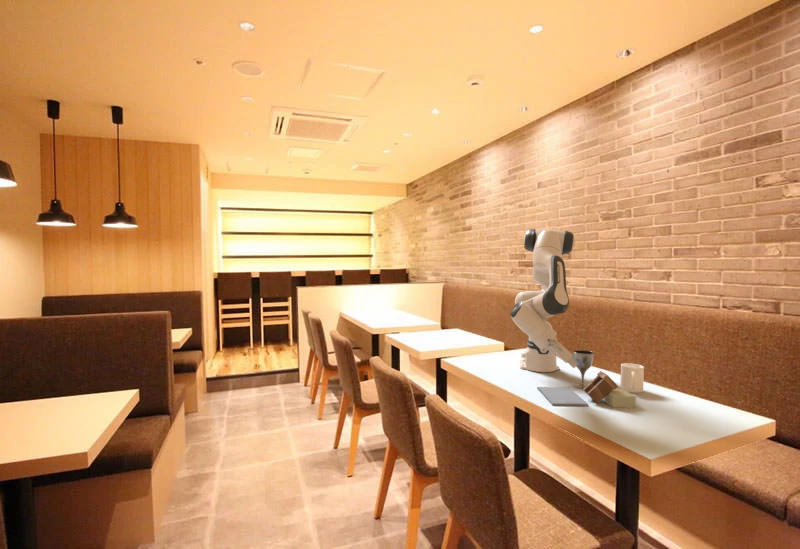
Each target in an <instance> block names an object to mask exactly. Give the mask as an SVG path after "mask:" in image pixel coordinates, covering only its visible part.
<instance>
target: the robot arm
mask: <svg viewBox="0 0 800 549" xmlns="http://www.w3.org/2000/svg"><path fill="white" fill-rule="evenodd" d="M522 243H523V247H524V249H525V250H526V251H529V252H531V253H532V265H533V266H532V273H531V277H532V280H533V282H535V283H537V284H538V285H540V286H541V290H525V291H521V292H518V293H517V294H516V296H515V298H514V306H513V307H512V308H511V310H510V314H509V315H510V318H511V320H512V321H513V323H514V324H515V325H516V326H517V327H518V328H519V329H520V330H521V331H522V333H523V334H526V335H527V336H528V340H527V342H526V343H527V344H526V345H527V346H526V349H525V351H524V352H523V353H521V358H522V359H520V360H519V365H520V369H522V370H528V371H532V372H536V373H537V372H538V373H553V372H555V371H559V370H560V369H561V368H560V366H559V365H557V357H558V359H560V360H562V361H563V362H564V363H566V364H568V365H569V366H570V367H572V368H573V369H575V368H577V367H576V366H577V364H576V363H575V362H574V360H573V353H572V352H570V351H569V350H568V349H567V348H566V347H565V346H563V344H562V343H561V342H559V341H558V337H557V335H558V333H557V331H555V330H554V328H553V325H552V324H551V323H550V322H549V321H547V319H549V318H552V317H553V316H558V315H561V314H563V313H565V312H567V311H568V309H569V307H570V297H569V295H568V289H567V274H566V273H567V272H566V265H565V262H564V261H565V260H564V259H563V258H562V256H564V255H568V254H570V253H571V252H572V251H573V250H574V247H575V244H576V239H575V237H574V233H573V232H571V231H568V230H561V229H560V230H559V229H553V228H550V229H548V228H547V229H546V228H545V229H543V228H542V229H536V228H531V229H527V230H526V232H525V234H524V235H523V240H522Z"/></svg>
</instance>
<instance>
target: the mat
mask: <svg viewBox="0 0 800 549" xmlns="http://www.w3.org/2000/svg"><path fill="white" fill-rule="evenodd" d="M537 390H538V391H539V392H540V393H541V394H542V396H543V397H544V398H545V399H546V401H548V402H549V403H550V405H552V406H554V407H555V406H557V407H558V406H561V407H562V406H564V407H565V406H566V407H589V403H588V402H586V400H584V399H583V398H582V397H581V396H580V395H579V394H578V393H577V392H575V391H574V390H573V389H572V388H571V387H568V386H567V387H565V386H537Z"/></svg>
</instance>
